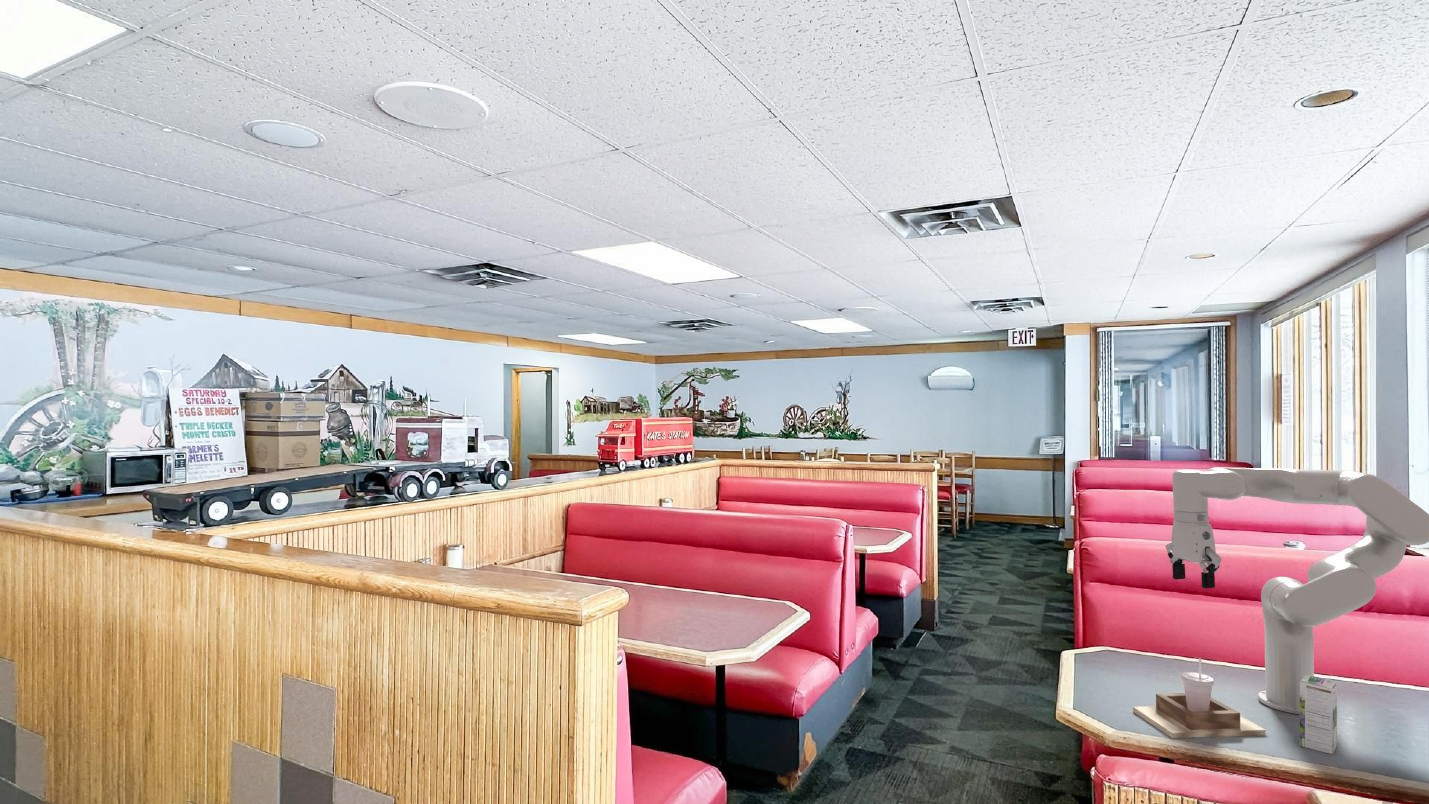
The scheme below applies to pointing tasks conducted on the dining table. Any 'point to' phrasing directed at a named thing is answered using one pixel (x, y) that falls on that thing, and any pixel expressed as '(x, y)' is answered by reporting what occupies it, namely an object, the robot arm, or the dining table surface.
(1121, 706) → the dining table surface
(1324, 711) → the syrup box
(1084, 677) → the dining table surface
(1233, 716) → the socket stand
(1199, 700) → the smoothie
